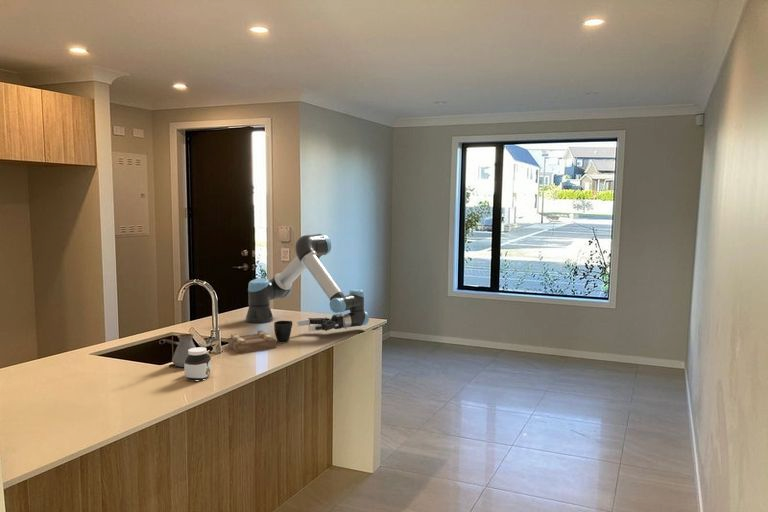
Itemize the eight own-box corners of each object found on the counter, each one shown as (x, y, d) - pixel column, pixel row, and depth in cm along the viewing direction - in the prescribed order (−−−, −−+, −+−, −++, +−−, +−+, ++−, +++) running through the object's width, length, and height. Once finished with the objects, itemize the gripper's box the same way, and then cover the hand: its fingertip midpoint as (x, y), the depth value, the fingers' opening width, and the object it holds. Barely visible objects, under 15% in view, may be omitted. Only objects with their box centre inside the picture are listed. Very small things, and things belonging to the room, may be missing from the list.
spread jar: (198, 383, 221) (197, 353, 220) (174, 380, 225) (172, 351, 224) (217, 374, 232) (216, 346, 231) (194, 371, 236) (193, 343, 235)
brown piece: (228, 346, 275) (228, 334, 274) (264, 340, 285) (264, 329, 284) (238, 353, 262) (238, 341, 262) (275, 347, 272) (275, 336, 271)
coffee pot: (183, 360, 251) (182, 326, 250) (206, 362, 248) (205, 328, 247) (150, 375, 231) (148, 338, 229) (175, 377, 228) (173, 340, 226)
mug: (299, 338, 289) (298, 319, 288) (285, 344, 278) (284, 324, 277) (285, 336, 293) (284, 318, 292) (271, 342, 282) (270, 323, 281)
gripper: (352, 333, 291) (313, 338, 280) (329, 323, 312) (293, 328, 301) (352, 318, 290) (313, 323, 279) (329, 310, 311) (293, 314, 300)
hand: (303, 326), depth 290 cm, fingers open, 13 cm apart
